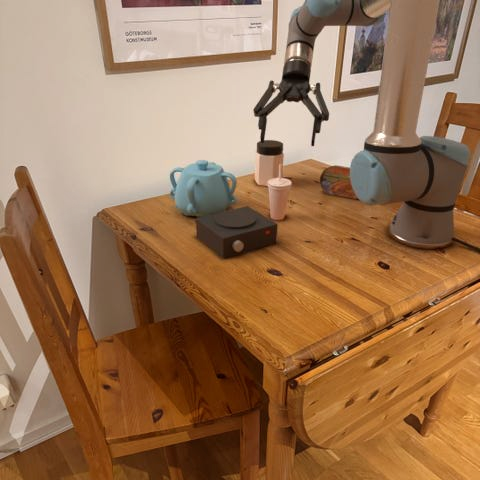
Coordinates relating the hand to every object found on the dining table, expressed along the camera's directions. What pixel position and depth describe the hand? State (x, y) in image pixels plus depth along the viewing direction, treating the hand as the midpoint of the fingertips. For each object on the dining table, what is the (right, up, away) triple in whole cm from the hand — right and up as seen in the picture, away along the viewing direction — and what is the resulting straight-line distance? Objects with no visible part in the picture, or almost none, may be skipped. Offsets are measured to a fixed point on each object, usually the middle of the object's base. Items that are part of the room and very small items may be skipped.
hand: (287, 142), depth 119 cm
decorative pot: (-23, -17, +5) cm, 29 cm away
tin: (+19, -10, +16) cm, 26 cm away
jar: (-4, -3, +24) cm, 25 cm away
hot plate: (-14, -28, -10) cm, 32 cm away
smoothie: (-2, -20, +2) cm, 20 cm away
